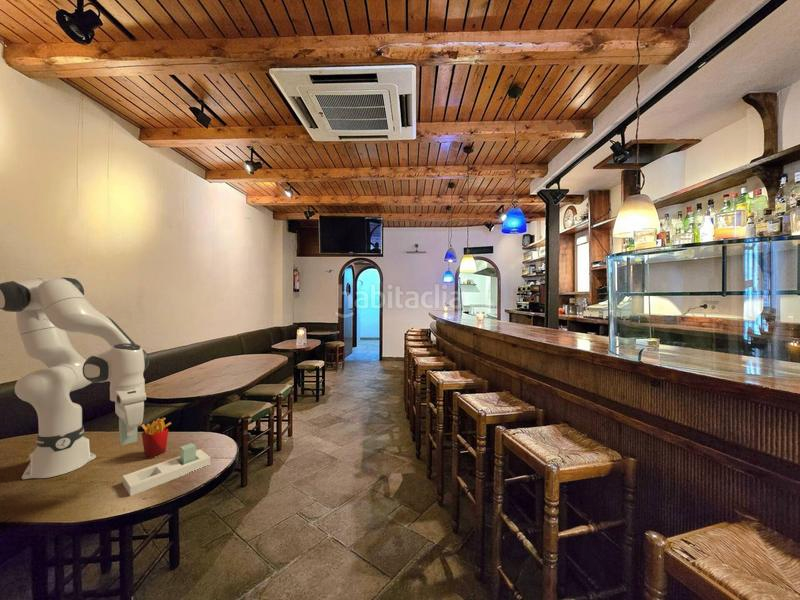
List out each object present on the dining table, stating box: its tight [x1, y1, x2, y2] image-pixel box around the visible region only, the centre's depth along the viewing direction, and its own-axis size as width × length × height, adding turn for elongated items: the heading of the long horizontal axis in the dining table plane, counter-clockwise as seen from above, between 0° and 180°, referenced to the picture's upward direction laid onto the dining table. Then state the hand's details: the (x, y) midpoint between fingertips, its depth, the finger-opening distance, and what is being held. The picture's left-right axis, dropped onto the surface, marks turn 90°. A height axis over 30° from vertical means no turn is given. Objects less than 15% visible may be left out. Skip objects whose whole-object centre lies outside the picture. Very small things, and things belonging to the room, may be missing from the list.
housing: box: [122, 442, 211, 497], centre depth 114 cm, size 10×24×8 cm, turn 142°
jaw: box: [118, 417, 138, 446], centre depth 104 cm, size 4×4×8 cm
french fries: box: [140, 417, 172, 459], centre depth 128 cm, size 9×8×15 cm
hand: (128, 432), depth 104 cm, fingers closed on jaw, 4 cm apart
